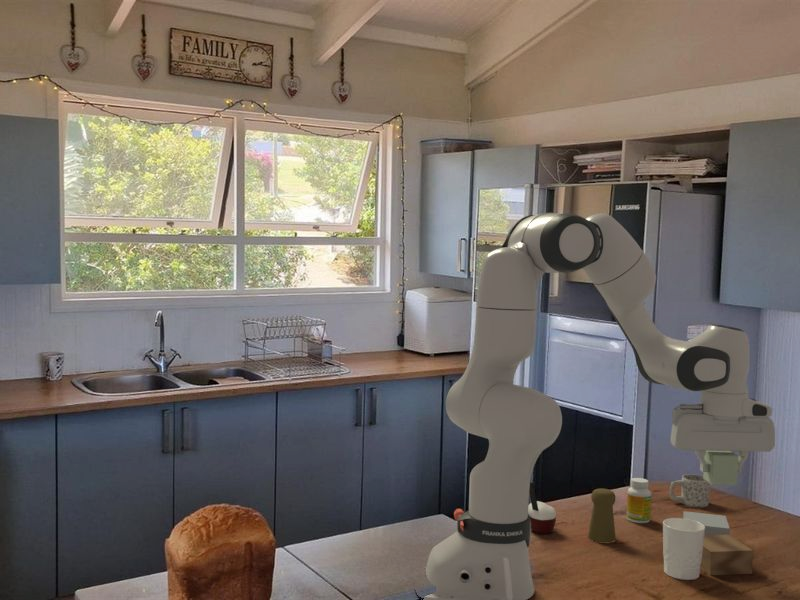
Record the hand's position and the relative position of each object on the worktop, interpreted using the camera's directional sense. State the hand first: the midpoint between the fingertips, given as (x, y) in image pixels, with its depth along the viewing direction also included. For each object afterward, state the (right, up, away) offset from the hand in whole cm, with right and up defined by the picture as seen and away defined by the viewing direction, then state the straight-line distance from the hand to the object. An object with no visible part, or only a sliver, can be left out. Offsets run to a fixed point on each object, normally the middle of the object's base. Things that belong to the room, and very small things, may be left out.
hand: (720, 471), depth 166 cm
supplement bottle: (-9, -18, +28) cm, 34 cm away
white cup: (-9, -20, -4) cm, 22 cm away
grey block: (+3, -19, +15) cm, 24 cm away
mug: (+8, -17, +42) cm, 46 cm away
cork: (-20, -18, +15) cm, 31 cm away
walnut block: (0, -20, +1) cm, 20 cm away
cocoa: (-33, -18, +19) cm, 42 cm away
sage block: (0, -2, 0) cm, 2 cm away
